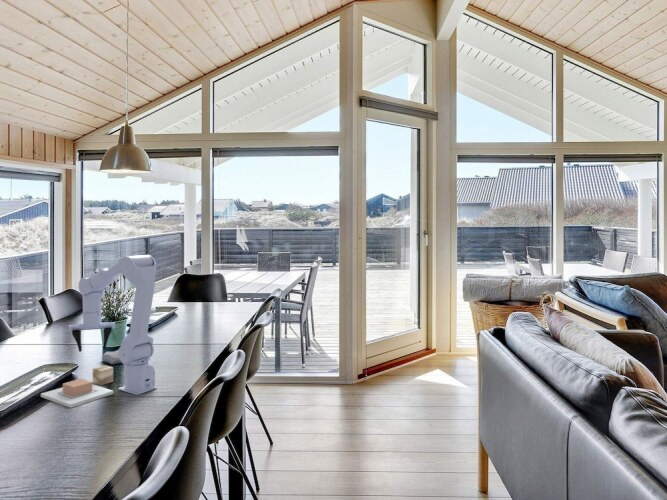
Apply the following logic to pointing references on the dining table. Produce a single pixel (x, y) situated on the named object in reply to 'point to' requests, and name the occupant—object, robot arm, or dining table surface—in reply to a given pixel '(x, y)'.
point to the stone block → (112, 357)
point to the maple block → (102, 375)
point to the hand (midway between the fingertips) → (92, 350)
